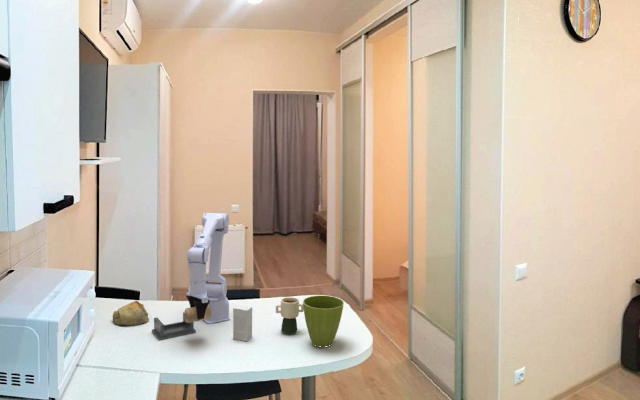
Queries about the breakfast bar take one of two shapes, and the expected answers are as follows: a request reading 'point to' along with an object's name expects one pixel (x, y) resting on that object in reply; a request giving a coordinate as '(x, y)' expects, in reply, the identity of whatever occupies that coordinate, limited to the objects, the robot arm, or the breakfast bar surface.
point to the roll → (192, 314)
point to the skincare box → (242, 322)
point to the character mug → (289, 314)
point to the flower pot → (322, 318)
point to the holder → (172, 329)
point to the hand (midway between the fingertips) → (197, 316)
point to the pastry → (131, 314)
